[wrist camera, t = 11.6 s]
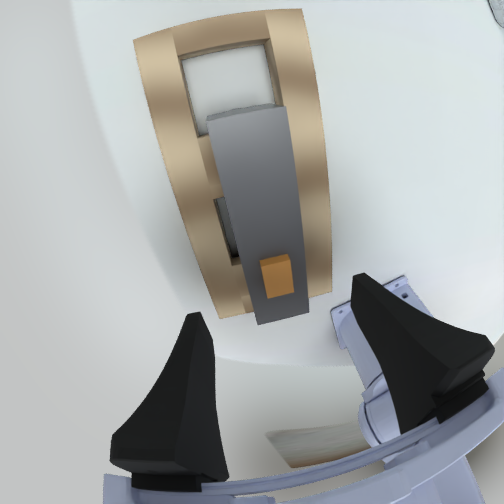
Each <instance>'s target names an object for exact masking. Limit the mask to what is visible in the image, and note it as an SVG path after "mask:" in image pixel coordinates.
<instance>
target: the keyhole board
mask: <svg viewBox="0 0 504 504" xmlns="http://www.w3.org/2000/svg"><path fill="white" fill-rule="evenodd" d="M133 43H134V48H135V52H136V57H137V61H138V66H139V70H140V74H141V79H142V83H143V87H144V91H145V95H146V99H147V103H148V107H149V110H150V114H151V118H152V121H153V125H154V129H155V132H156V136H157V139H158V143H159V146H160V150H161V153H162V156H163V160H164V163H165V166H166V170H167V173H168V176H169V179H170V183H171V186H172V189H173V192H174V195H175V198H176V201H177V204H178V207H179V210H180V213H181V216H182V219H183V222H184V225H185V228H186V231H187V234H188V237H189V239H190V242H191V245H192V248H193V251H194V253H195V256H196V259H197V262H198V264H199V267H200V270H201V272H202V275H203V278H204V280H205V283H206V286H207V288H208V291H209V293H210V296H211V299H212V301H213V304H214V306H215V309H216V311H217V314H218V316H219V319H223V318H227V317H232V316H237V315H241V314H246V313H250V312H254V310H253V306H252V302H251V298H250V295H249V291H248V287H247V283H246V279H245V276H244V272H243V268H242V264H241V260H240V257H236V258H232V256H231V253H230V249H229V246H228V242H227V238H226V235H225V231H224V228H223V224H222V220H221V217H220V213H219V209H218V205H217V202H216V198H220V197H224V194H223V190H222V186H221V182H220V178H219V174H218V170H217V166H216V162H215V158H214V153H213V149H212V145H211V141H210V137H209V134H206V135H202V136H199V132H198V128H197V124H196V120H195V116H194V112H193V108H192V104H191V100H190V95H189V91H188V87H187V83H186V79H185V74H184V70H183V66H182V61H181V60H184V59H188V58H192V57H196V56H200V55H204V54H209V53H213V52H218V51H223V50H228V49H234V48H240V47H247V46H254V45H262V44H264V48H265V52H266V57H267V62H268V67H269V72H270V77H271V82H272V87H273V92H274V98H275V103H276V105H282V106H286V109H287V115H288V121H289V127H290V133H291V140H292V147H293V154H294V161H295V168H296V176H297V183H298V191H299V200H300V209H301V218H302V227H303V237H304V248H305V259H306V271H307V284H308V298H311V297H314V296H318V295H322V294H325V293H329V292H332V240H331V214H330V197H329V182H328V170H327V158H326V148H325V139H324V130H323V122H322V114H321V107H320V100H319V93H318V87H317V81H316V75H315V69H314V64H313V58H312V53H311V48H310V43H309V38H308V34H307V29H306V25H305V21H304V16H303V12H302V9H275V10H262V11H251V12H243V13H236V14H229V15H223V16H217V17H212V18H207V19H202V20H198V21H193V22H189V23H185V24H181V25H178V26H174V27H171V28H167V29H164V30H161V31H157V32H154V33H151V34H148V35H145V36H143V37H140V38H137V39H134V40H133Z"/></svg>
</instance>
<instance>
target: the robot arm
mask: <svg viewBox="0 0 504 504" xmlns="http://www.w3.org/2000/svg"><path fill="white" fill-rule="evenodd" d="M407 280H408V279H407V278H406V277H405V276H403V277H401V278H399V279H397V280H395V281H393V282H391V283H389V284H387V285H385V286H382V285H381V284H379V283H378V282H377V281H375V280H374V279H372V278H371V277H370V276H368V275H367V274H365V273H361V274H357V275H354V276H353V281H352V293H351V302H349V303H346V304H344V305H342V306H340V307H337V308H335V309H333V310H332V311H331V315H332V319H333V323H334V326H335V330H336V334H337V338H338V342H339V346H340V348H341V349H345V348H347V349H348V351H349V353H350V355H351V358H352V360H353V362H354V364H355V366H356V369H357V371H358V373H359V375H360V378H361V380H362V382H363V385H364V387H365V389H366V391H364V392H363V393H362V397H363V399H364V402H362V403H361V404H360V406H359V412H358V421H359V425H360V428H361V431H362V433H363V435H364V437H365V439H366V441H367V442H368V443H369V445H370V446H371V447H372V448H370V449H367V450H365V451H362V452H359V453H357V454H354V455H351V456H348V457H345V458H342V459H339V460H336V461H333V462H329V463H326V464H322V465H319V466H315V467H311V468H307V469H303V470H299V471H295V472H290V473H285V474H280V475H274V476H269V477H263V478H256V479H249V480H240V481H229V482H225V481H226V480H227V479H228V478H229V473H228V470H227V465H226V461H225V456H224V452H223V447H222V442H221V437H220V430H219V425H218V417H217V411H216V398H215V354H214V346H213V339H212V337H211V335H210V332H209V330H208V328H207V326H206V323H205V321H204V319H203V317H202V314H201V312H195V313H190V314H187V316H186V318H185V321H184V323H183V326H182V329H181V331H180V334H179V336H178V339H177V341H176V343H175V346H174V348H173V350H172V353H171V355H170V357H169V359H168V361H167V363H166V365H165V367H164V369H163V371H162V372H161V374H160V376H159V378H158V379H157V381H156V383H155V384H154V386H153V387H152V389H151V390H150V392H149V393H148V395H147V396H146V398H145V399H144V400H143V402H142V403H141V404H140V406H139V407H138V408H137V409H136V411H135V412H134V413H133V414H132V415H131V417H130V418H129V419H128V420H127V421H126V422H125V423H124V424H123V425H122V426H121V427H120V428H119V429H118V430H117V431H116V432H115V433H114V434H113V435H112V440H111V449H110V462H111V463H112V464H113V465H115V466H117V467H119V468H122V469H124V470H126V471H129V472H131V473H132V478H130V477H125V476H118V475H111V474H104V484H103V486H104V487H103V504H485V502H484V499H483V497H482V494H481V491H480V489H479V486H478V484H477V482H476V479H475V477H474V475H473V472H472V470H471V468H470V466H469V464H468V461H467V459H466V457H465V455H466V454H467V453H468V452H470V451H471V450H472V449H473V448H475V447H476V446H477V445H478V444H480V443H481V442H482V441H483V440H484V439H485V438H487V437H488V436H489V435H490V434H491V433H492V432H493V431H494V430H495V429H497V428H498V427H499V426H500V425H501V424H502V423H503V422H504V368H503V367H502V368H501V369H499V370H498V371H497V372H496V373H494V374H493V375H492V376H491V377H489V378H488V379H487V380H486V381H485V380H484V379H483V377H484V376H485V373H484V371H483V370H482V369H483V368H484V367H485V365H486V364H487V363H488V361H489V360H490V359H491V357H492V356H493V354H494V352H495V348H494V346H493V345H492V343H491V342H490V341H489V339H488V338H487V337H486V335H482V334H478V333H474V332H470V331H466V330H463V329H460V328H457V327H454V326H452V325H449V324H447V323H444V322H442V321H440V320H437V319H435V318H434V317H433V316H432V314H431V313H430V312H429V310H428V309H427V308H426V306H425V305H424V304H423V303H422V301H421V300H420V299H419V297H418V296H417V295H416V294H415V292H414V291H413V290H412V288H411V287H410V286H409V285H408V284H407ZM381 459H382V460H383V461H384V462H385V463H386V464H384V469H385V471H384V472H381V473H379V474H376V475H374V476H371V477H369V478H366V479H363V480H361V481H358V482H355V483H352V484H349V485H346V486H343V487H340V488H337V489H333V490H330V491H327V492H323V493H320V494H316V495H312V496H308V497H304V498H299V499H295V500H290V501H286V502H280V503H275V498H273V497H268V496H266V495H263V496H252V497H238V498H236V497H234V496H237V495H247V494H256V493H262V492H269V491H275V490H281V489H286V488H291V487H296V486H300V485H305V484H309V483H313V482H317V481H320V480H324V479H328V478H331V477H334V476H338V475H341V474H344V473H347V472H350V471H353V470H355V469H358V468H361V467H364V466H366V465H369V464H372V463H374V462H376V461H379V460H381Z"/></svg>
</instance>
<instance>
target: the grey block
mask: <svg viewBox="0 0 504 504" xmlns="http://www.w3.org/2000/svg"><path fill="white" fill-rule="evenodd" d="M206 125H207V129H208V133H209V137H210V141H211V145H212V149H213V153H214V158H215V162H216V166H217V170H218V174H219V178H220V182H221V186H222V190H223V194H224V198H225V202H226V206H227V210H228V214H229V218H230V222H231V225H232V229H233V233H234V237H235V241H236V245H237V249H238V253H239V256H240V260H241V264H242V268H243V272H244V276H245V279H246V283H247V287H248V291H249V295H250V298H251V302H252V306H253V310H254V313H255V317H256V321H257V324H258V325H261V324H265V323H269V322H273V321H278V320H282V319H286V318H290V317H293V316H297V315H301V314H305V313H309V299H308V284H307V271H306V259H305V248H304V237H303V227H302V218H301V209H300V200H299V191H298V183H297V176H296V168H295V161H294V154H293V147H292V140H291V133H290V127H289V121H288V115H287V109H286V106H282V105H276V104H264V105H258V106H252V107H247V108H237V109H232V110H230V111H227V112H223V113H218V114H214V115H210V116H207V119H206Z"/></svg>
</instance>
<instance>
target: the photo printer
mask: <svg viewBox="0 0 504 504" xmlns="http://www.w3.org/2000/svg"><path fill="white" fill-rule="evenodd" d="M489 3H490V5H491V8H492V10H493V13H494V15H495V18H496V20H497V22H498V23H499V25H501V26H502V27H504V0H489Z"/></svg>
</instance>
